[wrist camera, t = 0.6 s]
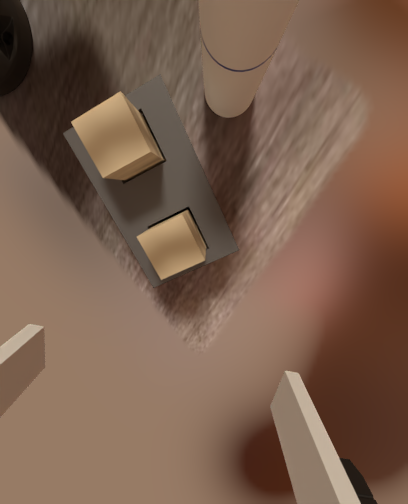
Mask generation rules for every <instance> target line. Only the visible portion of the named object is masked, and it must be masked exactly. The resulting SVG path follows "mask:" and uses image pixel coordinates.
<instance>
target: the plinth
mask: <svg viewBox="0 0 408 504" xmlns="http://www.w3.org/2000/svg"><path fill="white" fill-rule="evenodd" d="M125 97H126V98H127V99H128V100H129V101H130V102H131V103H132V104H133V106H134V107H135V108H136V109H137V110H138V111H139V112H140V113H141V114H142V115H143V116H144V118H145V119H146V120H147V121H148V124H149V126H150V128H151V130H152V132H153V134H154V136H155V138H156V140H157V142H158V144H159V146H160V148H161V150H162V152H163V154H164V156H165V158H166V162H164V163H162V164H160V165H158V166H156V167H154V168H153V169H151V170H149V171H147V172H145V173H143V174H141V175H139V176H138V177H136V178H134V179H132V180H130V181H126V180H117V179H108V178H103V177H102V176H101V174H100V172H99V170H98V169H97V167H96V165H95V163H94V162H93V160H92V158H91V156H90V155H89V153H88V151H87V149H86V148H85V146H84V144H83V142H82V141H81V139H80V137H79V135H78V134H77V132H76V130H75V128H74V127H72V128H71V129H69V130H67V131H66V132H64V133H63V135H64V136H65V138H66V140H67V141H68V143H69V145H70V146H71V148H72V150H73V152H74V153H75V155H76V157H77V158H78V160H79V162H80V163H81V165H82V167H83V169H84V170H85V172H86V174H87V175H88V177H89V179H90V181H91V182H92V184H93V186H94V187H95V189H96V191H97V192H98V194H99V196H100V198H101V199H102V201H103V203H104V204H105V206H106V208H107V209H108V211H109V213H110V215H111V216H112V218H113V220H114V221H115V223H116V225H117V226H118V228H119V230H120V232H121V233H122V235H123V237H124V238H125V240H126V242H127V243H128V245H129V247H130V249H131V250H132V252H133V254H134V255H135V257H136V259H137V260H138V262H139V264H140V266H141V267H142V269H143V271H144V272H145V274H146V276H147V278H148V279H149V281H150V283H151V284H152V286H153V288H154V287H157V286H159V285H161V284H163V283H166V282H168V281H170V280H172V279H175V278H177V277H179V276H182V275H184V274H186V273H188V272H191V271H193V270H195V269H197V268H200V267H202V266H204V265H206V264H209V263H211V262H213V261H216V260H218V259H220V258H222V257H225V256H227V255H229V254H231V253H234V252H236V251H238V250H239V249H238V246H237V244H236V242H235V240H234V237H233V235H232V233H231V231H230V229H229V226H228V224H227V222H226V220H225V217H224V215H223V213H222V211H221V209H220V206H219V204H218V202H217V200H216V197H215V195H214V193H213V191H212V189H211V186H210V184H209V182H208V180H207V177H206V175H205V173H204V171H203V168H202V166H201V164H200V162H199V160H198V157H197V155H196V153H195V151H194V148H193V146H192V144H191V142H190V140H189V137H188V135H187V133H186V131H185V128H184V126H183V124H182V122H181V120H180V117H179V115H178V113H177V111H176V108H175V106H174V104H173V102H172V100H171V97H170V95H169V93H168V91H167V88H166V86H165V84H164V82H163V80H162V77H161V75H158V76H157V77H155V78H153V79H152V80H150V81H148V82H147V83H145V84H143V85H142V86H140V87H138V88H137V89H135V90H133V91H132V92H130V93H128V94H127V95H125ZM188 206H189V208H190V210H191V212H192V214H193V216H194V218H195V220H196V222H197V224H198V226H199V228H200V230H201V232H202V234H203V237H204V239H205V241H206V255H205V261H203V262H201V263H198V264H196V265H194V266H192V267H189V268H187V269H185V270H183V271H180V272H178V273H176V274H174V275H171V276H169V277H167V278H165V279H162V280H161V279H160V277H159V275H158V274H157V272H156V270H155V268H154V267H153V265H152V263H151V261H150V260H149V258H148V256H147V254H146V253H145V251H144V249H143V247H142V246H141V244H140V242H139V240H138V239H137V236H139V235H140V234H142V233H143V232H145V231H147V230H148V229H150V228H151V227H153V226H154V225H156V224H158V223H160V222H162V221H164V220H166V219H165V218H166V217H168V216H170V215H172V214H174V213H176V212H178V211H180V210H182V209H184V208H186V207H188Z"/></svg>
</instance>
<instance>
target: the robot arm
mask: <svg viewBox="0 0 408 504" xmlns="http://www.w3.org/2000/svg"><path fill="white" fill-rule="evenodd" d="M31 53H32V39H31V31H30V26H29V22H28V19H27V16H26V13H25V11H24V8H23V6H22V4H21V2H20V0H0V96H2V95H5V94H7V93H9V92H11V91H12V90H14V89H15V88H16V87H17V86H18V85H19V84H20V83H21V81H22V80H23V78H24V77H25V75H26V73H27V70H28V68H29V64H30V60H31ZM44 368H45V343H44V327H43V326H38V325H32V324H29V325H27V326H26V327H25V328H24V329H22V330H21V331H20V332H19V333H17V334H16V335H15V336H13V337H12V338H11V339H9V340H8V341H7V342H6V343H4V344H3V345H2V346H0V417H1V416H2V415H3V414H4V413H5V412H6V410H7V409H8V408H9V407H10V406H11V405H12V404H13V402H14V401H15V400H16V399H17V398H18V397H19V396H20V395H21V394H22V393H23V391H24V390H25V389H26V388H27V387H28V386H29V385H30V384H31V382H32V381H33V380H34V379H35V378H36V377H37V376H38V375H39V373H40V372H41V371H42V370H43V369H44ZM270 408H271V411H272V415H273V418H274V422H275V426H276V429H277V432H278V436H279V440H280V443H281V447H282V450H283V454H284V458H285V461H286V465H287V468H288V472H289V476H290V479H291V483H292V486H293V490H294V493H295V497H296V501H297V504H377V502H376V500H374V498H373V495H372V493H371V491H370V489H369V487H368V485H367V483H366V482H365V480H364V478H363V476H362V475H361V473H360V472H359V471H358V470H357V468H356V467H355V466H354V465H353V463H352V462H351V461H350V460H349V459H343V458H339V457H338V455H337V453H336V451H335V449H334V447H333V444H332V442H331V440H330V439H329V436H328V434H327V432H326V430H325V428H324V426H323V424H322V421H321V419H320V417H319V415H318V413H317V411H316V409H315V407H314V405H313V403H312V401H311V399H310V396H309V394H308V393H307V390H306V388H305V386H304V384H303V382H302V380H301V378H300V376H299V374H298V373H296V372H290V371H285V372H284V374H283V377H282V379H281V381H280V384H279V386H278V389H277V391H276V394H275V396H274V398H273V401H272V403H271V406H270Z"/></svg>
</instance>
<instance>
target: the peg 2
mask: <svg viewBox="0 0 408 504" xmlns="http://www.w3.org/2000/svg"><path fill="white" fill-rule="evenodd" d="M137 239H138V240H139V242H140V244H141V246H142V247H143V249H144V251H145V253H146V254H147V256H148V258H149V260H150V261H151V263H152V265H153V267H154V268H155V270H156V272H157V274H158V275H159V277H160V279H161V280H162V279H165V278H167V277H169V276H171V275H174V274H176V273H178V272H180V271H183V270H185V269H187V268H189V267H192V266H194V265H196V264H198V263H201V262H203V261H205V255H206V241H205V239H204V237H203V234H202V232H201V230H200V228H199V226H198V224H197V222H196V220H195V218H194V216H193V214H192V212H191V210H190V208H188V209H186V210H184V211H182V212H180V213H178V214H176V215H174V216H172V217H170V218H168V219H166V220H164V221H162V222H160V223H158V224H156V225H154V226H153V227H151V228H150V229H148V230H147V231H145V232H143V233H142V234H140V235H139V236H137Z"/></svg>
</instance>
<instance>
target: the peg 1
mask: <svg viewBox="0 0 408 504" xmlns="http://www.w3.org/2000/svg"><path fill="white" fill-rule="evenodd" d="M71 123H72V125H73V127H74V128H75V130H76V132H77V134H78V135H79V137H80V139H81V141H82V142H83V144H84V146H85V148H86V149H87V151H88V153H89V155H90V156H91V158H92V160H93V162H94V163H95V165H96V167H97V169H98V170H99V172H100V174H101V176H102V177H103V178H108V179H117V180H126V181H130V180H132V179H134V178H136V177H138V176H139V175H141V174H143V173H145V172H147V171H149V170H151V169H153V168H154V167H156V166H158V165H160V164H162V163H164V162H166V158H165V156H164V154H163V152H162V150H161V148H160V146H159V144H158V142H157V140H156V138H155V136H154V134H153V132H152V130H151V128H150V126H149V124H148V121H147V120H146V119H145V118H144V116H143V115H142V114H141V113H140V112H139V111H138V110H137V109H136V108H135V107H134V106H133V104H132V103H131V102H130V101H129V100H128V99H127V98H126V97H125V96H124V95H123V93H122V92H121V91H120V92H119V93H117V94H115V95H114V96H112V97H111V98H109V99H107V100H106V101H104V102H102V103H101V104H99V105H97V106H96V107H94V108H93V109H91V110H89V111H88V112H86V113H84V114H83V115H81V116H80V117H78V118H76V119H75V120H73V121H71Z"/></svg>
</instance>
